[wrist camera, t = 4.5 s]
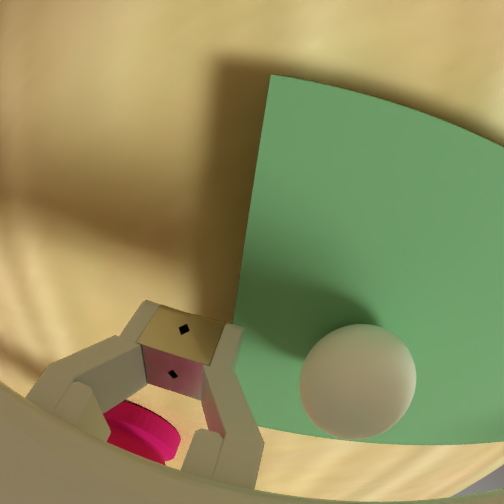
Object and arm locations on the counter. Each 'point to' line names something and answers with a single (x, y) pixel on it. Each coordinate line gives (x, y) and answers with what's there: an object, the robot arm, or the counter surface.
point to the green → (374, 257)
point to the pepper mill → (142, 432)
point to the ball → (357, 381)
